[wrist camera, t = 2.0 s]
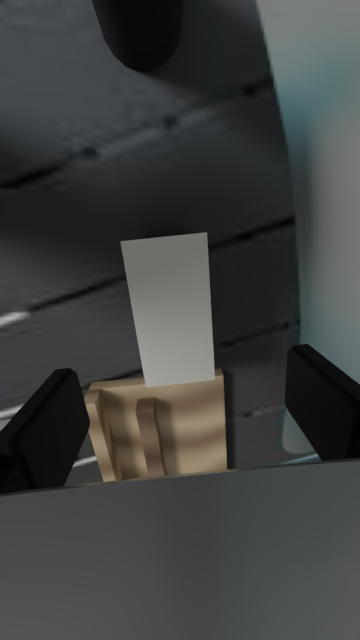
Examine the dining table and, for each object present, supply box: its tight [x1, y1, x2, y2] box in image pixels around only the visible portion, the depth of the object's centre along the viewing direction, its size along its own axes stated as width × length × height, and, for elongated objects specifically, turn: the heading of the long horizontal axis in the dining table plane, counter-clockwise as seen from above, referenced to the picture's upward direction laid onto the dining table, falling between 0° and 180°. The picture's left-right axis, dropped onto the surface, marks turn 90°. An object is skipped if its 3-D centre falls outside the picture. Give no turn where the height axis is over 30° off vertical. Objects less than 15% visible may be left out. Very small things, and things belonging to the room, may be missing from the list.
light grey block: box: [120, 232, 215, 387], centre depth 22 cm, size 13×6×8 cm, turn 6°
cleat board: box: [84, 369, 227, 482], centre depth 30 cm, size 18×16×4 cm
